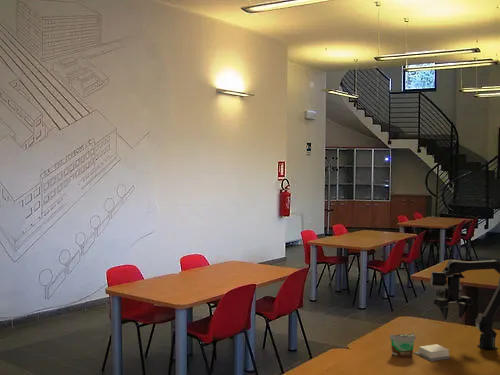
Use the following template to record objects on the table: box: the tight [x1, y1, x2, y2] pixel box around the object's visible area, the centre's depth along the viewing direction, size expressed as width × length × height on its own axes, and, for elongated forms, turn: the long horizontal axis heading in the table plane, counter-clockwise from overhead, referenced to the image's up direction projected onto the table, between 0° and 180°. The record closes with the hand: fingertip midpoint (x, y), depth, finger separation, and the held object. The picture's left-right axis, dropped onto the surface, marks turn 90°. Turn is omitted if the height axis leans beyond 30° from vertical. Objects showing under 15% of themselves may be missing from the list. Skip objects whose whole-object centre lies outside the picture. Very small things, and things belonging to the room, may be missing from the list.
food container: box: [389, 331, 416, 359], centre depth 246 cm, size 12×6×10 cm, turn 105°
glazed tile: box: [418, 343, 450, 359], centre depth 248 cm, size 3×8×10 cm
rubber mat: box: [413, 350, 451, 362], centre depth 248 cm, size 11×12×1 cm
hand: (452, 318), depth 261 cm, fingers open, 9 cm apart
